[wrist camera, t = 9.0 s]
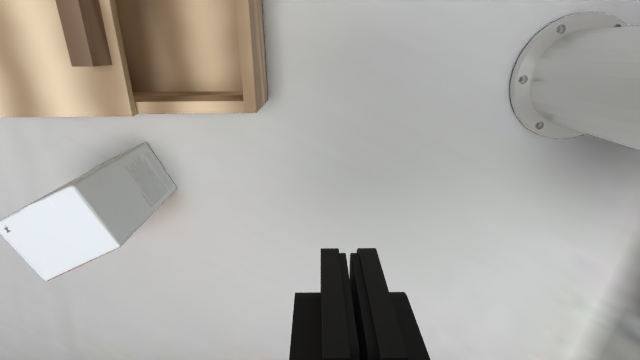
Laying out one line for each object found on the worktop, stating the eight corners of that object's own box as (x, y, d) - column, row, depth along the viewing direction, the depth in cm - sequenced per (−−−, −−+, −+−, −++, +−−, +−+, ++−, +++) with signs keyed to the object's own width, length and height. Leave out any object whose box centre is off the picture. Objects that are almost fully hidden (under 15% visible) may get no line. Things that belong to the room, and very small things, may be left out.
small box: (122, 215, 42) (43, 284, 29) (88, 170, 40) (-12, 224, 27) (179, 188, 40) (121, 248, 28) (147, 140, 38) (69, 183, 26)
